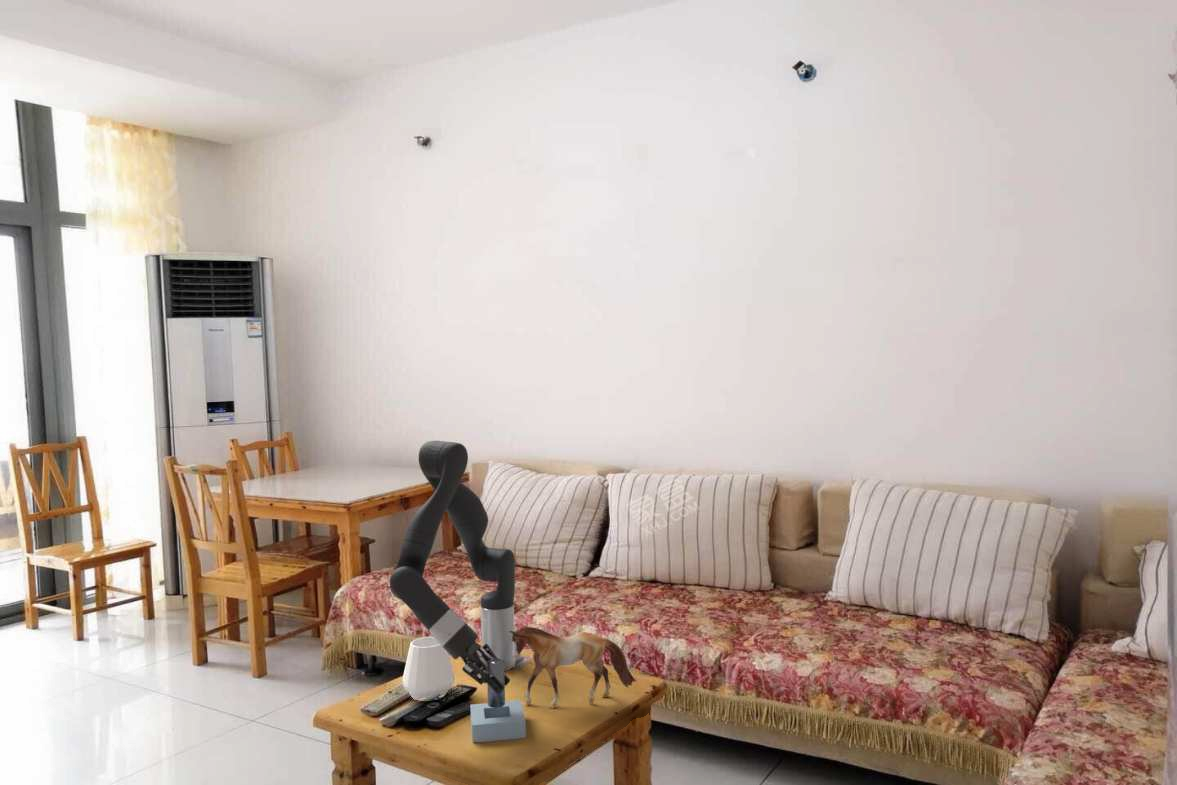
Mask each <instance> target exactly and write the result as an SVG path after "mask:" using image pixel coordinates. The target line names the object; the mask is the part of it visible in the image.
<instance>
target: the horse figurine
mask: <svg viewBox="0 0 1177 785" xmlns="http://www.w3.org/2000/svg"><path fill="white" fill-rule="evenodd" d="M514 631H515V630H514ZM514 631H509V632H511V633H513V635H512V642H513V654H512V655H513V657H514V658H515V660H516V659H517V660H518V659H520V658H521V653H522V651H523V650H524V648H526V646H527V644H528V646H529V648H530V649H531V651H532V652H533V654H532V656H533V657H532V658H533V662H534V666H533V669H532V672H531V675H530V676H529V679H528V682H527V688H526V692H525V706H530V705H531V703H532V699H531V697H530V696H531V689H532V686H533V683H534V682H535V680H536V678H537V677H538V676H539V675H540V674H541V672H542V671H543V670H544V669H545V671H547V673H548V676H549V678H550V680H551V685H552V687H553V690H554V699H553V700H552V701H551V703H550V705H549V708H550V707H555V706H556V707H557V705H558V704H557V702H558V700H560V694H559V693H560V692H559V690H558V679H557V676H556V668H558V667H562V666H570V665H573V664H576V663H577V662H579V661H582V663H583V665H584V666H585V667H586V669H587V670H588V671H590V673H592V674H593V676H594V681H593V684H592V686H591V688H590V690H589V695H588V703H589V704H590V705H591V704H593V703H594V702H595V700H596V698H595V696H594V694H595V693H596V689H597V687H598V684H599V681H600V679H601V678H602V677H603V679H604V683H605V688H604V690H603V693H602V694H601V696H603V697H602V698H607V697H609V696H610V690H611V688H612V686H611V683H610V679H609V670H608V669H607V668H606V666H605V665H604V664H603V662H602V658H603V657H604V654H605V652H606V651H605V650H608V651H609V652H610V661H611V665H612V666H613V669H614V671H615V672H616V673H617V675H618V677H619V679H620V681H621V683H622V684H623V685H624V686H625V687H626V688H629V686H632V685H633V682H637V679H636V678H634V676H633V675H632V673H631V671H630V669H629V668H628V664H627V659H626V656H625V654H624V652H623V651H622V649H621V648H620V646H618V644H616V643H615V642H613V641H612V640H610V639H608V638H605V637H602V636H599V635H597V634H595V633H592V632H587V631H582V632H578V633H576V634H574V635H571V636H570V635H569V636H565V637H559V636H556V635H555V634H552V633H550V632H548V631H545V630H542V629H540V628H538V627H531V626H525V627H521V628H519V629H518V630H516V631H515V632H514Z"/></svg>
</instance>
